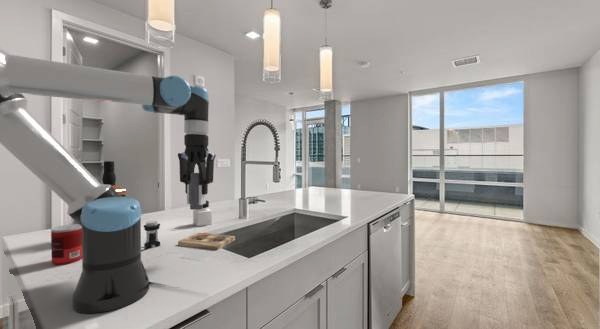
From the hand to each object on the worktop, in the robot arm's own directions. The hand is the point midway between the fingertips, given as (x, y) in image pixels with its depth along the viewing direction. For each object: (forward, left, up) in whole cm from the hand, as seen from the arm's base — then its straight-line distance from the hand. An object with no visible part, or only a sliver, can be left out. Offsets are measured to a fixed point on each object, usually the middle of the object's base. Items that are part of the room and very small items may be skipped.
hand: (196, 203), depth 89 cm
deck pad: (0, 0, -18) cm, 18 cm away
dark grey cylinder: (0, 0, -2) cm, 2 cm away
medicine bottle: (+38, +26, -19) cm, 50 cm away
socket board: (+12, +4, -18) cm, 22 cm away
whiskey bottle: (+9, +51, -19) cm, 55 cm away
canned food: (-15, +38, -19) cm, 45 cm away
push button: (+1, +21, -19) cm, 28 cm away
